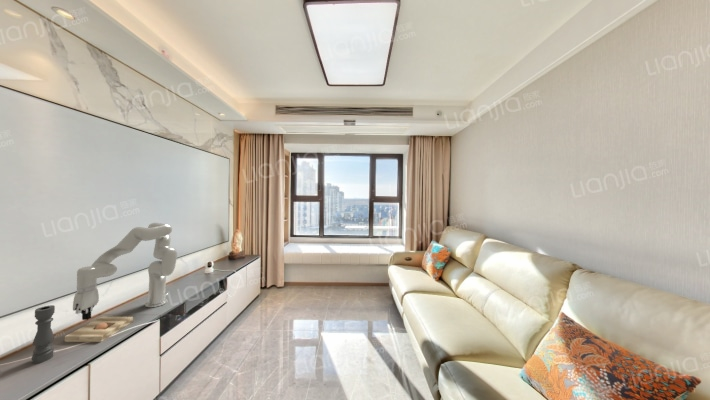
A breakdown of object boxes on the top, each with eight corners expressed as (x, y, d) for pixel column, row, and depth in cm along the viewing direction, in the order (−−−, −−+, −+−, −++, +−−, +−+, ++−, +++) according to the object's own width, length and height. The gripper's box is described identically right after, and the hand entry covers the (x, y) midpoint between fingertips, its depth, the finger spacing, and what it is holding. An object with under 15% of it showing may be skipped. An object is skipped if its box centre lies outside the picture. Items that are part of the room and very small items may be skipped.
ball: (108, 319, 136) (111, 327, 135) (101, 322, 136) (104, 330, 136) (98, 324, 131) (101, 332, 130) (91, 327, 131) (93, 335, 131)
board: (101, 321, 143) (101, 316, 143) (132, 321, 145) (133, 316, 145) (64, 341, 123) (64, 336, 123) (101, 341, 125) (101, 336, 125)
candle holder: (42, 363, 108) (45, 311, 108) (26, 364, 107) (29, 311, 107) (57, 354, 114) (59, 305, 114) (42, 354, 113) (44, 305, 113)
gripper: (93, 283, 140) (92, 312, 141) (64, 294, 125) (64, 326, 126) (106, 283, 141) (106, 312, 141) (80, 294, 126) (79, 326, 127)
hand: (86, 318), depth 134 cm, fingers closed
